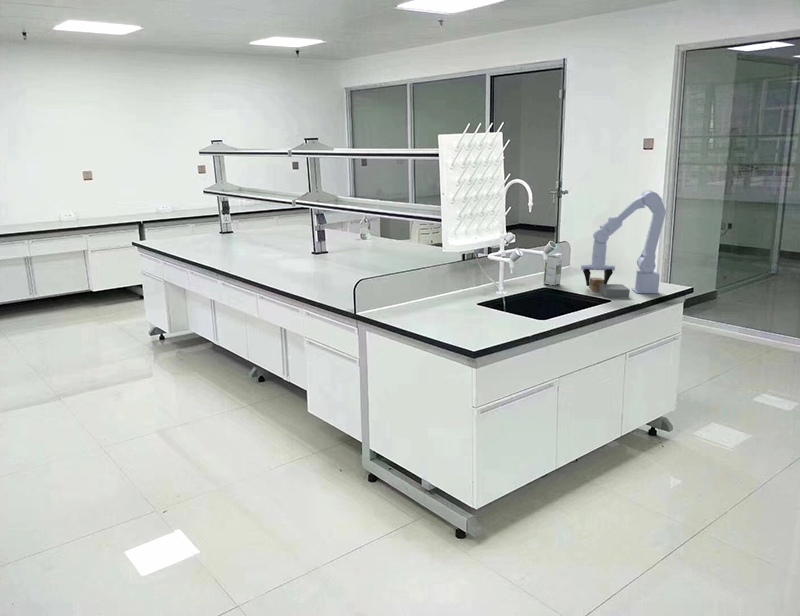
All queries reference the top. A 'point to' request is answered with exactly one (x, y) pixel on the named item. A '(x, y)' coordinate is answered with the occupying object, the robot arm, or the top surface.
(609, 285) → the charcoal base block
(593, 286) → the walnut cube
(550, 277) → the syrup box
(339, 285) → the top surface
